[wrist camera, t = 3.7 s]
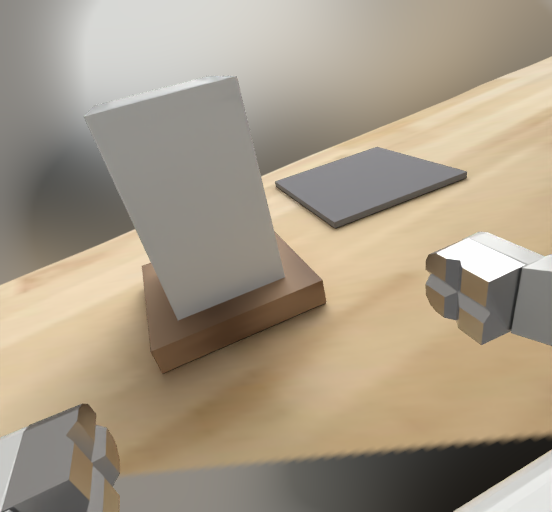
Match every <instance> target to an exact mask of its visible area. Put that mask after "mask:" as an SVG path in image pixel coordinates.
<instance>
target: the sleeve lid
mask: <svg viewBox="0 0 552 512" xmlns="http://www.w3.org/2000/svg"><path fill="white" fill-rule="evenodd" d="M84 119H85V121H86V123H87V125H88V128H89V130H90V132H91V134H92V136H93V138H94V140H95V143H96V145H97V147H98V149H99V151H100V153H101V156H102V158H103V160H104V162H105V164H106V166H107V169H108V170H109V173H110V175H111V177H112V179H113V181H114V183H115V186H116V188H117V190H118V192H119V194H120V197H121V198H122V201H123V203H124V205H125V207H126V210H127V212H128V214H129V216H130V218H131V220H132V222H133V225H134V227H135V229H136V231H137V233H138V235H139V238H140V240H141V242H142V244H143V246H144V248H145V251H146V253H147V255H148V257H149V259H150V261H151V264H152V266H153V268H154V270H155V272H156V274H157V276H158V279H159V281H160V283H161V285H162V287H163V289H164V292H165V294H166V296H167V298H168V300H169V302H170V305H171V307H172V309H173V311H174V313H175V315H176V317H177V320H181V319H183V318H186V317H188V316H190V315H193V314H195V313H198V312H200V311H203V310H205V309H208V308H210V307H213V306H215V305H218V304H220V303H223V302H225V301H228V300H230V299H232V298H235V297H237V296H240V295H242V294H245V293H247V292H250V291H252V290H255V289H257V288H260V287H262V286H265V285H267V284H270V283H272V282H274V281H277V280H279V279H282V278H284V277H285V275H284V271H283V266H282V262H281V258H280V254H279V250H278V246H277V241H276V237H275V233H274V229H273V225H272V221H271V216H270V212H269V208H268V204H267V200H266V196H265V191H264V187H263V183H262V179H261V175H260V171H259V167H258V163H257V158H256V154H255V150H254V146H253V142H252V138H251V134H250V129H249V125H248V121H247V116H246V112H245V108H244V104H243V100H242V96H241V92H240V87H239V83H238V79H237V76H206V77H202V78H199V79H195V80H191V81H187V82H183V83H179V84H176V85H172V86H168V87H164V88H160V89H156V90H153V91H148V92H145V93H141V94H137V95H133V96H129V97H125V98H122V99H118V100H114V101H110V102H106V103H102V104H99V105H95V106H93V107H92V108H91V109H90V110H89V111H88V112H87V114H86V115H85V116H84Z"/></svg>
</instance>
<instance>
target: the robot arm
mask: <svg viewBox="0 0 552 512" xmlns="http://www.w3.org/2000/svg"><path fill="white" fill-rule="evenodd" d="M426 270H427V271H428V272H429V273H430V276H429V278H428V280H427V282H426V296H427V298H428V300H429V303H430V305H431V306H432V307H433V308H434V310H435V311H436V312H437V313H439V314H440V315H441V316H443V317H444V318H448V319H453V320H456V322H457V325H458V328H459V329H460V330H461V331H463V332H464V333H465V334H467V335H468V336H469V337H471V338H472V339H474V340H475V341H476V342H478V343H479V344H480V345H483V344H485V343H487V342H489V341H491V340H493V339H495V338H497V337H499V336H501V335H504V334H506V333H508V332H510V331H511V333H513V334H516V335H519V336H522V337H525V338H528V339H532V340H535V341H538V342H541V343H544V344H547V345H551V346H552V254H550V255H548V256H543V255H540V254H538V253H535V252H533V251H531V250H528V249H526V248H523V247H521V246H519V245H516V244H514V243H512V242H509V241H507V240H504V239H502V238H500V237H497V236H495V235H492V234H490V233H488V232H477V233H475V234H473V235H471V236H469V237H466V238H464V239H462V240H461V241H458V242H456V243H454V244H452V245H449V246H447V247H445V248H443V249H440V250H438V251H436V252H433V253H431V254H429V255H428V257H427V259H426ZM119 474H120V459H119V455H118V450H117V445H116V443H115V441H114V439H113V436H112V435H111V433H110V432H109V430H108V429H107V428H106V427H102V426H98V425H96V413H95V412H94V411H93V409H92V408H91V407H90V406H89V405H88V404H80V405H78V406H75V407H73V408H70V409H68V410H65V411H63V412H61V413H58V414H56V415H53V416H51V417H48V418H46V419H43V420H41V421H38V422H36V423H33V424H31V425H29V426H28V427H25V428H22V429H20V430H18V431H15V432H13V433H10V434H8V435H5V436H3V437H1V438H0V512H119V507H120V505H119V504H120V496H119V494H118V493H117V492H116V491H115V490H114V488H113V485H114V483H115V481H116V480H117V478H118V476H119ZM454 512H552V450H551V451H549V452H547V453H546V454H544V455H543V456H541V457H539V458H538V459H536V460H535V461H533V462H532V463H530V464H528V465H527V466H525V467H523V468H522V469H520V470H519V471H517V472H516V473H514V474H512V475H511V476H509V477H508V478H506V479H504V480H503V481H501V482H500V483H498V484H497V485H495V486H493V487H492V488H490V489H488V490H487V491H485V492H484V493H482V494H481V495H479V496H477V497H476V498H474V499H473V500H471V501H469V502H468V503H466V504H465V505H463V506H462V507H460V508H458V509H457V510H455V511H454Z"/></svg>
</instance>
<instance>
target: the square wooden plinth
mask: <svg viewBox="0 0 552 512" xmlns="http://www.w3.org/2000/svg"><path fill="white" fill-rule="evenodd" d="M274 233H275V237H276V241H277V246H278V250H279V254H280V258H281V262H282V266H283V271H284V275H285V277H284V278H282V279H279V280H277V281H274V282H272V283H270V284H267V285H265V286H262V287H260V288H257V289H255V290H252V291H250V292H247V293H245V294H242V295H240V296H237V297H235V298H232V299H230V300H228V301H225V302H223V303H220V304H218V305H215V306H213V307H210V308H208V309H205V310H203V311H200V312H198V313H195V314H193V315H190V316H188V317H186V318H183V319H181V320H177V317H176V315H175V313H174V311H173V309H172V307H171V305H170V302H169V300H168V298H167V296H166V294H165V292H164V289H163V287H162V285H161V283H160V281H159V279H158V276H157V274H156V272H155V270H154V268H153V266H152V264H151V263H149V264H146V265H143V266H142V272H143V281H144V291H145V301H146V310H147V320H148V330H149V340H150V349H151V353H152V355H153V357H154V359H155V360H156V362H157V364H158V366H159V368H160V370H161V371H162V373H165V372H167V371H169V370H172V369H174V368H176V367H179V366H181V365H183V364H186V363H188V362H190V361H192V360H195V359H197V358H199V357H202V356H204V355H206V354H209V353H211V352H213V351H216V350H218V349H220V348H222V347H225V346H227V345H229V344H232V343H234V342H236V341H239V340H241V339H243V338H246V337H248V336H250V335H252V334H255V333H257V332H259V331H262V330H264V329H266V328H269V327H271V326H273V325H276V324H278V323H280V322H282V321H285V320H287V319H289V318H292V317H294V316H296V315H299V314H301V313H303V312H306V311H308V310H310V309H312V308H315V307H317V306H319V305H322V304H324V303H326V298H325V292H324V286H323V281H322V279H321V278H320V277H319V276H318V275H317V274H316V273H315V272H314V271H313V270H312V269H311V268H310V267H309V266H308V265H307V264H306V263H305V262H304V261H303V260H302V259H301V258H300V257H299V256H298V255H297V254H296V253H295V252H294V251H293V250H292V249H291V248H290V247H289V246H288V245H287V244H286V243H285V242H284V241H283V240H282V239H281V238H280V236H279V235H278V234H277V233H276V232H275V231H274Z"/></svg>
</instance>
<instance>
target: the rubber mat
mask: <svg viewBox="0 0 552 512" xmlns="http://www.w3.org/2000/svg"><path fill="white" fill-rule="evenodd" d="M464 178H467V172H466V171H463V170H459V169H456V168H452V167H448V166H445V165H441V164H437V163H434V162H430V161H427V160H423V159H419V158H416V157H412V156H408V155H405V154H401V153H397V152H394V151H390V150H387V149H383V148H379V147H375V148H372V149H369V150H366V151H363V152H361V153H358V154H355V155H352V156H349V157H346V158H343V159H340V160H337V161H334V162H331V163H328V164H325V165H322V166H319V167H316V168H313V169H311V170H308V171H305V172H302V173H299V174H296V175H293V176H290V177H287V178H284V179H281V180H278V181H275V184H276V187H278V188H279V189H281V190H282V191H283V192H285V193H286V194H288V195H289V196H290V197H292V198H293V199H295V200H296V201H297V202H299V203H300V204H302V205H303V206H304V207H306V208H307V209H309V210H310V211H312V212H313V213H314V214H316V215H317V216H319V217H320V218H321V219H323V220H324V221H326V222H327V223H328V224H330V225H331V226H333V227H334V228H337V227H340V226H342V225H345V224H348V223H350V222H353V221H355V220H358V219H361V218H363V217H366V216H368V215H371V214H373V213H376V212H379V211H381V210H384V209H386V208H389V207H392V206H394V205H397V204H399V203H402V202H405V201H407V200H410V199H412V198H415V197H418V196H420V195H423V194H425V193H428V192H431V191H433V190H436V189H438V188H441V187H444V186H446V185H449V184H451V183H454V182H457V181H459V180H462V179H464Z"/></svg>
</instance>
